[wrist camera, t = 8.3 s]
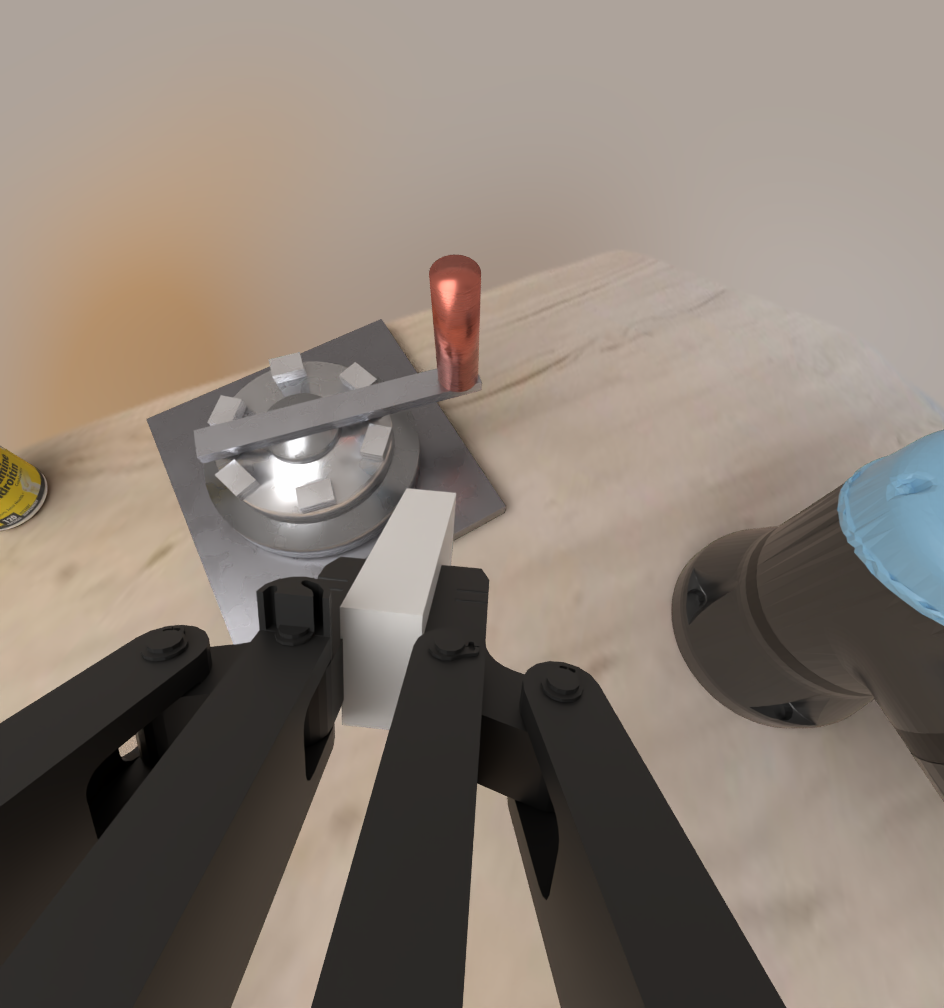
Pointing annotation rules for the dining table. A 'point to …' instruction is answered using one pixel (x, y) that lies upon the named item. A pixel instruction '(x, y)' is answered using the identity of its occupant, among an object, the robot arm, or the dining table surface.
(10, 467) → the pill bottle
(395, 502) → the grey crank base
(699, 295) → the dining table surface
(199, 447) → the red grip crank lever
